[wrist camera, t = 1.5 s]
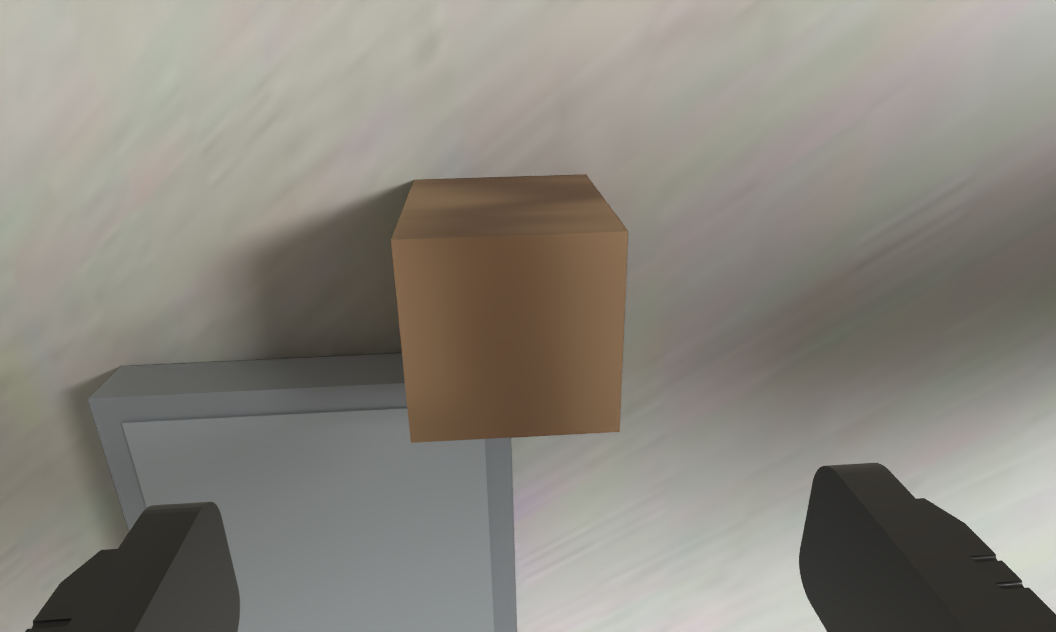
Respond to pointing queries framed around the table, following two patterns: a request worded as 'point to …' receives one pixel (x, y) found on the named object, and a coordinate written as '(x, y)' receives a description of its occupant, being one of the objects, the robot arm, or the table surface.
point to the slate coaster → (320, 491)
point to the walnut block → (510, 307)
